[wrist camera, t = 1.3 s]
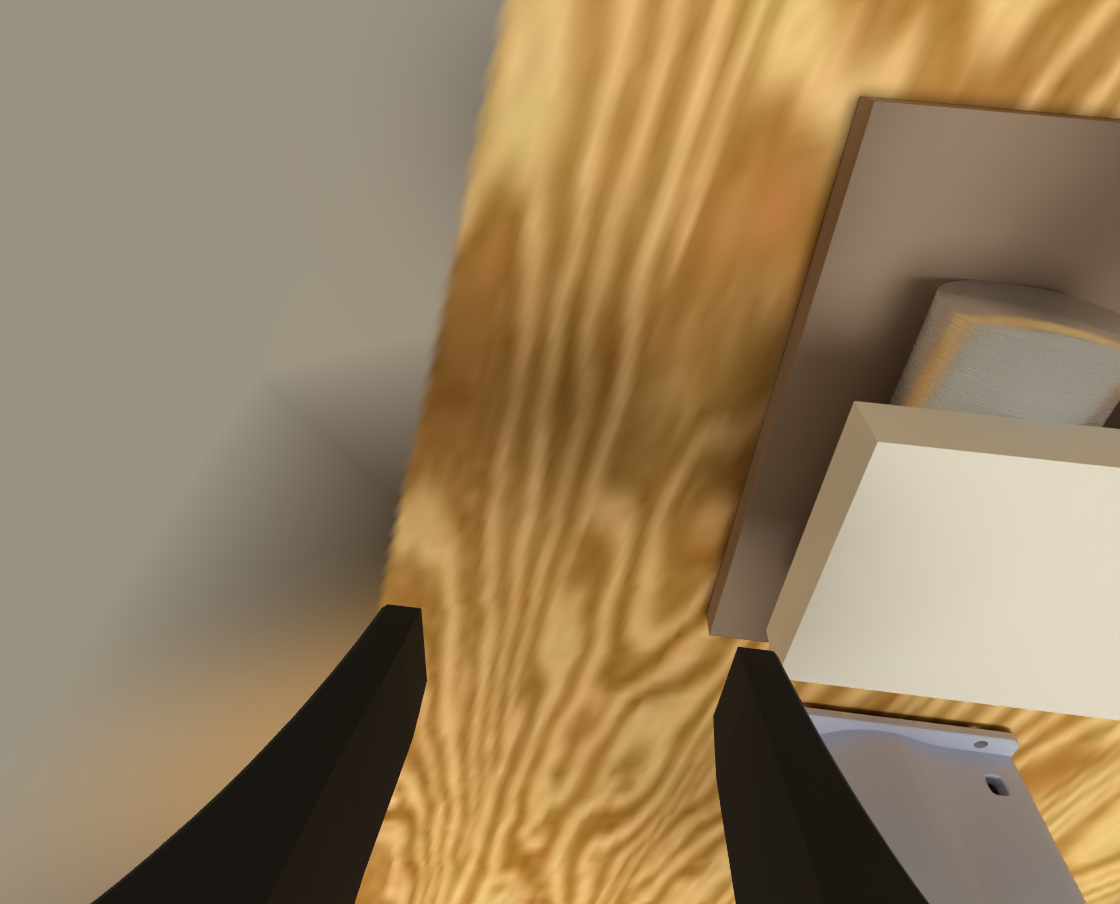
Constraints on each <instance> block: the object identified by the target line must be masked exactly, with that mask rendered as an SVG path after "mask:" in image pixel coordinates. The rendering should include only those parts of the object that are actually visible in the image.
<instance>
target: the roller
mask: <svg viewBox="0 0 1120 904" xmlns="http://www.w3.org/2000/svg"><path fill="white" fill-rule="evenodd" d="M1119 401H1120V314H1118V313H1116V312H1114V311H1111V310H1109V309H1106V308H1104V307H1101V306H1099V305H1096V304H1093V303H1090V302H1087V301H1084V300H1081V299H1078V298H1075V297H1071V296H1068V295H1064V294H1060V293H1057V292H1053V291H1048V290H1044V289H1040V288H1035V287H1030V286H1025V285H1019V284H1012V283H1006V282H996V281H985V280H962V281H954V282H949V283H946V284H943V285H942V286H940V287H939V288H938V289H937V292H936V294H935V297H934V299H933V301H932V304H931V306H930V308H929V311H928V313H927V316H926V318H925V320H924V323H923V325H922V327H921V330H920V332H919V335H918V337H917V339H916V342H915V344H914V346H913V349H912V351H911V353H910V356H909V358H908V361H907V363H906V365H905V368H904V370H903V372H902V375H901V377H900V380H899V382H898V384H897V387H896V389H895V391H894V394H893V396H892V399H891V401H890V403H889V405H896V406H906V407H915V408H925V409H934V410H944V411H953V412H963V413H972V414H982V415H991V416H1001V417H1010V418H1019V419H1029V420H1038V421H1046V422H1053V423H1065V424H1076V425H1086V426H1095V427H1103V425H1104V424H1105V422H1106V420H1107V419H1108V417H1109V416H1110V414H1111V413H1112V411H1113V410H1114V408H1115V407H1116V405H1117V404H1118V402H1119Z"/></svg>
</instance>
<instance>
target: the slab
mask: <svg viewBox="0 0 1120 904" xmlns="http://www.w3.org/2000/svg"><path fill="white" fill-rule="evenodd" d="M766 632H767V636H768V641H769V645H770V650H771V651H774V652H775V653H776V655H777V656H778V657H779V659H780V661H781V663H782V665H783V667H784V669H785V671H786V673H787V675H788V677H789V679H790V680H794V681H802V682H810V683H818V684H826V685H835V686H843V687H851V688H859V689H867V690H875V691H883V692H892V693H900V694H908V695H916V696H924V697H932V698H941V699H949V700H957V701H965V702H973V703H981V704H990V705H998V706H1006V707H1014V708H1022V709H1030V710H1038V711H1047V712H1055V713H1063V714H1071V715H1079V716H1087V717H1096V718H1104V719H1112V720H1120V429H1114V428H1105V427H1095V426H1086V425H1076V424H1065V423H1053V422H1046V421H1038V420H1029V419H1019V418H1010V417H1001V416H991V415H982V414H972V413H963V412H953V411H944V410H934V409H925V408H915V407H906V406H896V405H887V404H878V403H868V402H859V401H854V403H853V405H852V408H851V411H850V413H849V416H848V418H847V421H846V424H845V426H844V429H843V431H842V434H841V437H840V439H839V442H838V444H837V447H836V450H835V452H834V455H833V457H832V460H831V463H830V465H829V468H828V470H827V473H826V476H825V478H824V481H823V483H822V486H821V489H820V491H819V494H818V496H817V499H816V502H815V504H814V507H813V509H812V512H811V515H810V517H809V520H808V522H807V525H806V528H805V530H804V533H803V535H802V538H801V541H800V543H799V546H798V548H797V551H796V554H795V556H794V559H793V561H792V564H791V567H790V569H789V572H788V574H787V577H786V580H785V582H784V585H783V587H782V590H781V593H780V595H779V598H778V600H777V603H776V606H775V608H774V611H773V613H772V616H771V619H770V621H769V624H768V626H767V629H766Z"/></svg>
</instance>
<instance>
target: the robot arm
mask: <svg viewBox="0 0 1120 904" xmlns="http://www.w3.org/2000/svg"><path fill="white" fill-rule="evenodd" d="M426 682H427V675H426V662H425V650H424V637H423V625H422V612H421V608H413V607H405V606H397V605H388V604H387V605H386V606H384V607H383V608H381V610H380V611H379V612H378V614H377V615H376V617H375V618H374V619H373V621H372V622H371V623H370V625H369V626H368V627H367V629H366V630H365V631H364V633H363V634H362V635H361V637H360V638H359V639H358V641H357V642H356V643H355V644H354V646H353V647H352V648H351V650H350V651H349V652H348V653H347V654H346V656H345V657H344V658H343V659H342V661H341V662H340V663H339V664H338V665H337V667H336V668H335V669H334V670H333V672H332V673H331V674H330V675H329V676H328V677H327V679H326V680H325V681H324V682H323V683H322V684H321V686H320V687H319V688H318V689H317V690H316V691H315V693H314V694H313V695H312V696H311V697H310V699H309V700H308V701H307V702H306V703H305V704H304V705H303V707H302V708H301V709H300V710H299V711H298V712H297V713H296V715H295V716H294V717H293V718H292V719H291V720H290V721H289V722H288V723H287V724H286V725H285V726H284V727H283V728H282V729H281V731H280V732H279V733H278V734H277V735H276V736H275V737H274V738H273V739H272V740H271V741H270V742H269V743H268V744H267V745H266V746H265V747H264V749H263V750H262V751H261V752H260V753H259V754H258V755H257V756H256V757H255V758H254V759H253V760H252V761H251V762H250V763H249V764H248V765H247V766H246V767H245V768H244V769H243V770H242V771H241V772H240V773H239V774H238V775H237V776H236V777H235V778H234V779H233V780H232V781H231V782H230V783H229V784H228V785H227V786H226V787H225V788H224V789H223V790H222V791H221V792H220V793H218V794H217V795H216V796H215V797H214V798H213V799H212V800H211V801H210V802H209V803H208V804H207V805H206V806H205V807H204V808H203V809H201V810H200V811H199V812H198V813H197V814H196V815H195V816H194V817H193V818H192V819H191V820H190V821H188V822H187V823H186V824H185V825H184V826H183V827H182V828H180V829H179V830H178V831H177V832H176V833H175V834H174V835H172V836H171V837H170V838H169V839H168V840H167V841H166V842H164V843H163V844H162V845H161V846H160V847H159V848H158V849H156V850H155V851H154V852H153V853H152V854H151V855H150V856H149V857H147V858H146V859H145V860H144V861H143V862H141V863H140V864H139V865H138V866H137V867H135V868H134V869H133V870H132V871H131V872H130V873H128V874H127V875H126V876H125V877H124V878H122V879H121V880H120V881H119V882H118V883H116V884H115V885H114V886H113V887H111V888H110V889H109V890H108V891H106V892H105V893H104V894H102V895H101V896H100V897H99V898H97V899H96V900H95V901H94V902H92V903H91V904H355V900H356V897H357V894H358V891H359V888H360V885H361V881H362V878H363V875H364V872H365V869H366V866H367V864H368V861H369V858H370V855H371V853H372V850H373V847H374V844H375V842H376V839H377V836H378V833H379V831H380V828H381V825H382V822H383V819H384V817H385V814H386V811H387V808H388V806H389V803H390V800H391V797H392V795H393V792H394V789H395V786H396V784H397V781H398V778H399V775H400V772H401V770H402V767H403V764H404V761H405V759H406V756H407V753H408V750H409V747H410V744H411V742H412V739H413V735H414V731H415V727H416V723H417V719H418V715H419V711H420V707H421V703H422V699H423V695H424V691H425V686H426ZM713 718H714V743H715V763H716V778H717V785H718V792H719V799H720V805H721V812H722V818H723V825H724V831H725V838H726V844H727V850H728V857H729V863H730V869H731V876H732V882H733V888H734V895H735V901H736V904H1087V903H1086V901H1085V899H1084V897H1083V896H1082V894H1081V892H1080V890H1079V888H1078V886H1077V884H1076V882H1075V880H1074V878H1073V876H1072V874H1071V872H1070V870H1069V868H1068V866H1067V865H1066V863H1065V861H1064V859H1063V857H1062V855H1061V853H1060V851H1059V849H1058V847H1057V845H1056V843H1055V841H1054V839H1053V837H1052V835H1051V834H1050V832H1049V830H1048V828H1047V826H1046V824H1045V822H1044V820H1043V818H1042V816H1041V814H1040V812H1039V810H1038V808H1037V806H1036V804H1035V803H1034V801H1033V799H1032V797H1031V795H1030V793H1029V791H1028V789H1027V787H1026V785H1025V783H1024V781H1023V779H1022V777H1021V775H1020V773H1019V772H1018V770H1017V768H1016V766H1015V764H1014V762H1013V760H1012V758H1011V756H1012V755H1013V754H1014V753H1015V751H1016V750H1017V749H1018V747H1019V743H1018V741H1017V739H1016V737H1015V736H1014V735H1013V734H1011V733H1008V732H1001V731H993V730H985V729H977V728H969V727H960V726H952V725H944V724H936V723H928V722H920V721H912V720H904V719H896V718H888V717H880V716H872V715H864V714H856V713H848V712H840V711H832V710H824V709H816V708H808V707H804V706H803V704H802V702H801V700H800V698H799V696H798V694H797V692H796V691H795V689H794V687H793V685H792V683H791V681H790V679H789V677H788V675H787V673H786V671H785V669H784V667H783V665H782V663H781V661H780V659H779V657H778V656H777V655H776V653H775V652H774V651H768V650H760V649H751V648H743V647H738V648H737V651H736V654H735V657H734V660H733V663H732V665H731V668H730V671H729V674H728V677H727V680H726V682H725V685H724V688H723V691H722V694H721V696H720V699H719V702H718V705H717V708H716V711H715V713H714V716H713Z"/></svg>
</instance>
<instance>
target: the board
mask: <svg viewBox="0 0 1120 904" xmlns="http://www.w3.org/2000/svg"><path fill="white" fill-rule="evenodd" d="M962 280H985V281H996V282H1006V283H1012V284H1019V285H1025V286H1030V287H1035V288H1040V289H1044V290H1048V291H1053V292H1057V293H1060V294H1064V295H1068V296H1071V297H1075V298H1078V299H1081V300H1084V301H1087V302H1090V303H1093V304H1096V305H1099V306H1101V307H1104V308H1106V309H1109V310H1111V311H1114V312H1116V313H1118V314H1120V119H1112V118H1101V117H1089V116H1078V115H1067V114H1055V113H1044V112H1033V111H1021V110H1010V109H999V108H987V107H976V106H964V105H953V104H942V103H930V102H919V101H908V100H896V99H885V98H874V97H862V96H860V99H859V103H858V106H857V109H856V113H855V116H854V119H853V123H852V126H851V130H850V133H849V136H848V140H847V143H846V146H845V150H844V153H843V156H842V160H841V163H840V167H839V170H838V173H837V177H836V180H835V183H834V187H833V190H832V194H831V197H830V200H829V204H828V207H827V210H826V214H825V217H824V220H823V224H822V227H821V231H820V234H819V237H818V241H817V244H816V247H815V251H814V254H813V257H812V261H811V264H810V268H809V271H808V274H807V278H806V281H805V284H804V288H803V291H802V295H801V298H800V301H799V305H798V308H797V311H796V315H795V318H794V321H793V325H792V328H791V332H790V335H789V338H788V342H787V345H786V348H785V352H784V355H783V359H782V362H781V365H780V369H779V372H778V375H777V379H776V382H775V385H774V389H773V392H772V396H771V399H770V402H769V406H768V409H767V412H766V416H765V419H764V423H763V426H762V429H761V433H760V436H759V439H758V443H757V446H756V449H755V453H754V456H753V460H752V463H751V466H750V470H749V473H748V476H747V480H746V483H745V487H744V490H743V493H742V497H741V500H740V503H739V507H738V510H737V513H736V517H735V520H734V524H733V527H732V530H731V534H730V537H729V540H728V544H727V547H726V550H725V554H724V557H723V561H722V564H721V567H720V571H719V574H718V577H717V581H716V584H715V588H714V591H713V594H712V598H711V601H710V604H709V608H708V611H707V620H708V628H709V635H712V636H720V637H728V638H737V639H745V640H753V641H762V642H769V641H768V636H767V632H766V629H767V626H768V624H769V621H770V619H771V616H772V613H773V611H774V608H775V606H776V603H777V600H778V598H779V595H780V593H781V590H782V587H783V585H784V582H785V580H786V577H787V574H788V572H789V569H790V567H791V564H792V561H793V559H794V556H795V554H796V551H797V548H798V546H799V543H800V541H801V538H802V535H803V533H804V530H805V528H806V525H807V522H808V520H809V517H810V515H811V512H812V509H813V507H814V504H815V502H816V499H817V496H818V494H819V491H820V489H821V486H822V483H823V481H824V478H825V476H826V473H827V470H828V468H829V465H830V463H831V460H832V457H833V455H834V452H835V450H836V447H837V444H838V442H839V439H840V437H841V434H842V431H843V429H844V426H845V424H846V421H847V418H848V416H849V413H850V411H851V408H852V405H853V403H854V401H859V402H868V403H878V404H887V405H889V403H890V401H891V399H892V396H893V394H894V391H895V389H896V387H897V384H898V382H899V380H900V377H901V375H902V372H903V370H904V368H905V365H906V363H907V361H908V358H909V356H910V353H911V351H912V349H913V346H914V344H915V342H916V339H917V337H918V335H919V332H920V330H921V327H922V325H923V323H924V320H925V318H926V316H927V313H928V311H929V308H930V306H931V304H932V301H933V299H934V297H935V294H936V292H937V289H938V288H939V287H940V286H942V285H943V284H946V283H949V282H954V281H962ZM1103 427H1105V428H1114V429H1120V401H1119V402H1118V404H1117V405H1116V407H1115V408H1114V410H1113V411H1112V413H1111V414H1110V416H1109V417H1108V419H1107V420H1106V422H1105V424H1104V425H1103Z"/></svg>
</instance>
